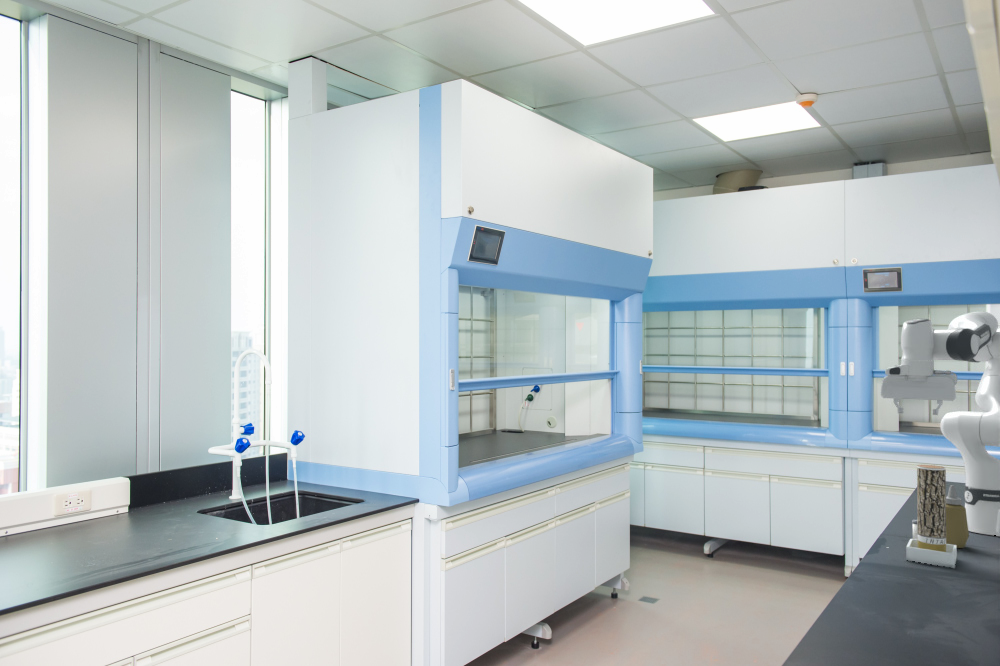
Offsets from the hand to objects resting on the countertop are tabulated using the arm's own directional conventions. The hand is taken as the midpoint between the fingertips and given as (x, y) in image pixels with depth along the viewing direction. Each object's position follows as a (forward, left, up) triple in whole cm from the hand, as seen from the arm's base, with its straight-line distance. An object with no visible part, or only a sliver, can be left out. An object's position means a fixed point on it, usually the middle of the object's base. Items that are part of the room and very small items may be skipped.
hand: (917, 414), depth 215 cm
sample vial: (+1, +1, -39) cm, 39 cm away
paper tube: (+10, +22, -38) cm, 45 cm away
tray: (+10, +22, -39) cm, 46 cm away
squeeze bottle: (-6, +7, -39) cm, 40 cm away
